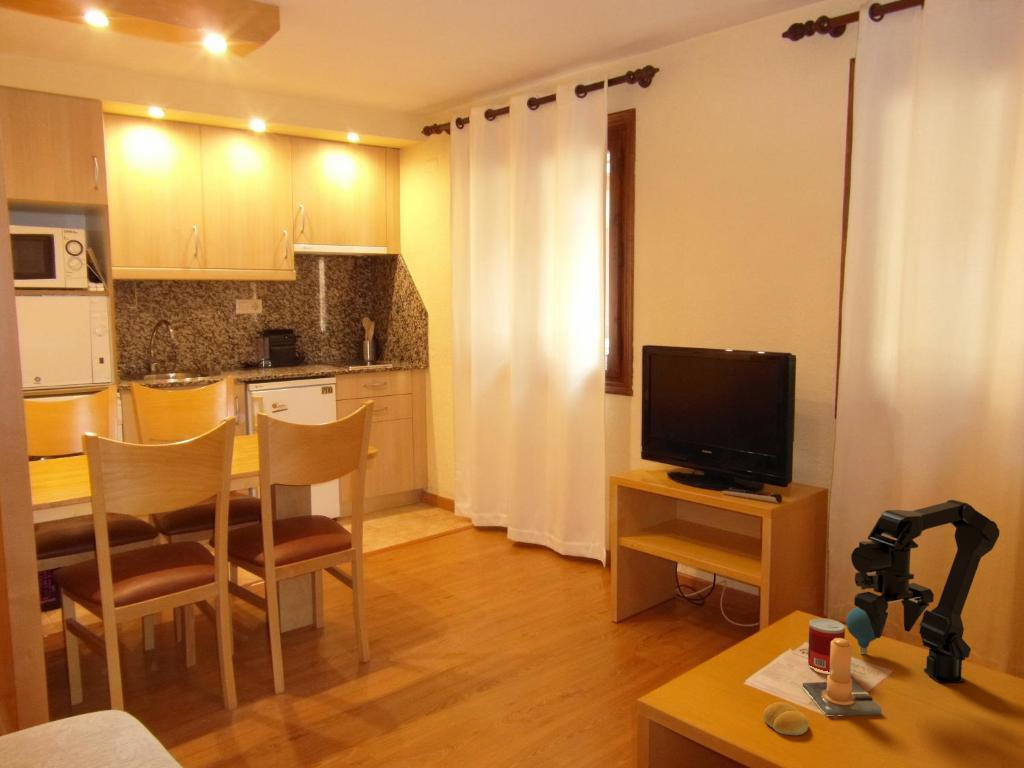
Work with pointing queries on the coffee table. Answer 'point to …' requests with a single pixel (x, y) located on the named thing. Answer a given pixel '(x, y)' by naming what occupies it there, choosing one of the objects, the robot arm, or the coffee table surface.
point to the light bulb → (860, 628)
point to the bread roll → (785, 719)
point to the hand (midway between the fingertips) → (892, 634)
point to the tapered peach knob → (840, 671)
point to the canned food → (822, 641)
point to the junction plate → (854, 707)
